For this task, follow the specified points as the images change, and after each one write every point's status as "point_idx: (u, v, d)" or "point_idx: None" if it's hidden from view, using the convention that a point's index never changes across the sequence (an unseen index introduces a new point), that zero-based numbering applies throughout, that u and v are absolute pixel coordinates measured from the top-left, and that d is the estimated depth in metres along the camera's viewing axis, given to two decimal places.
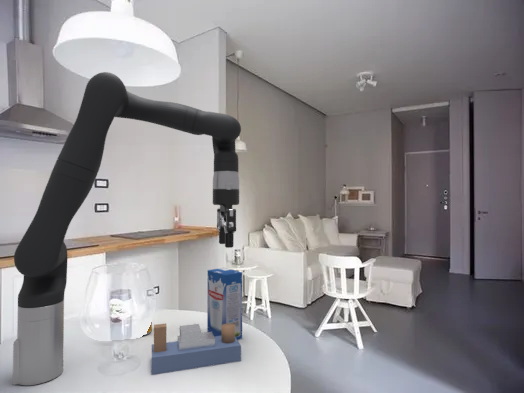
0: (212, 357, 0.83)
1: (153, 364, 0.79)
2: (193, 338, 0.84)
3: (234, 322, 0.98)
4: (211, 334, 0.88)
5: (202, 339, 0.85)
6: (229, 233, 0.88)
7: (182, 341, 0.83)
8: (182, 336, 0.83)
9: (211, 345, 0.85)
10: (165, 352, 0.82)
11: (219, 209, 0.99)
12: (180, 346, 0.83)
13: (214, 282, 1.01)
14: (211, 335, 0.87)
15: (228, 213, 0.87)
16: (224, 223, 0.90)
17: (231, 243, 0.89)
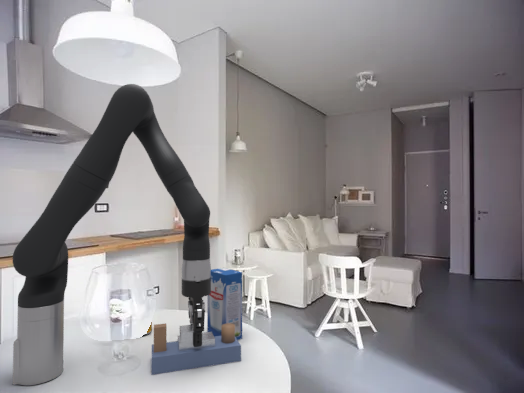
0: (212, 357, 0.83)
1: (153, 364, 0.79)
2: None
3: (234, 322, 0.98)
4: (211, 334, 0.88)
5: (202, 339, 0.85)
6: (197, 332, 0.82)
7: (182, 341, 0.83)
8: (182, 336, 0.83)
9: (211, 345, 0.85)
10: (165, 352, 0.82)
11: (190, 297, 0.92)
12: (180, 346, 0.83)
13: (214, 282, 1.01)
14: (211, 335, 0.87)
15: (196, 315, 0.80)
16: (192, 320, 0.83)
17: (199, 342, 0.83)
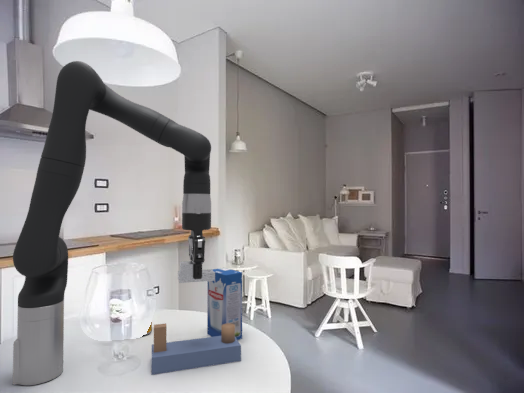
0: (212, 357, 0.83)
1: (153, 364, 0.79)
2: None
3: (234, 322, 0.98)
4: (211, 270, 0.88)
5: (202, 272, 0.85)
6: (197, 264, 0.83)
7: (182, 273, 0.83)
8: (182, 268, 0.83)
9: (211, 279, 0.85)
10: (165, 352, 0.82)
11: (191, 235, 0.92)
12: (180, 277, 0.83)
13: (214, 282, 1.01)
14: (211, 271, 0.88)
15: (196, 245, 0.80)
16: (192, 252, 0.83)
17: (199, 274, 0.83)
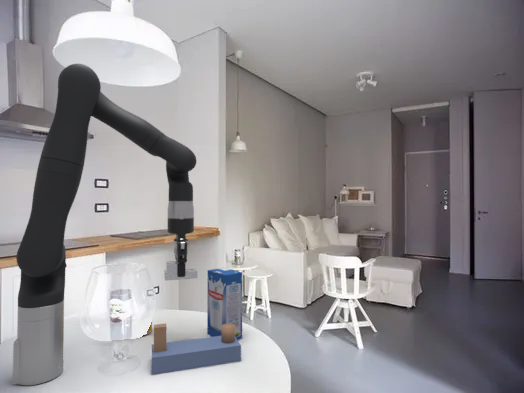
0: (212, 357, 0.83)
1: (153, 364, 0.79)
2: None
3: (234, 322, 0.98)
4: (194, 269, 0.99)
5: (186, 271, 0.96)
6: (180, 263, 0.93)
7: (168, 272, 0.94)
8: (167, 267, 0.94)
9: (194, 277, 0.96)
10: (165, 352, 0.82)
11: (176, 238, 1.02)
12: (166, 276, 0.93)
13: (214, 282, 1.01)
14: (194, 269, 0.98)
15: (179, 247, 0.91)
16: (177, 253, 0.94)
17: (183, 273, 0.94)
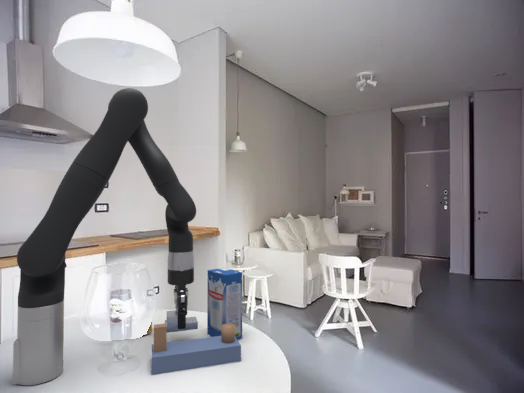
0: (212, 357, 0.83)
1: (153, 364, 0.79)
2: None
3: (234, 322, 0.98)
4: (195, 318, 0.98)
5: (186, 322, 0.95)
6: (181, 316, 0.93)
7: (168, 324, 0.93)
8: (168, 319, 0.93)
9: (194, 328, 0.95)
10: (165, 352, 0.82)
11: (176, 285, 1.02)
12: (166, 328, 0.93)
13: (214, 282, 1.01)
14: (195, 319, 0.98)
15: (179, 300, 0.90)
16: (177, 305, 0.93)
17: (183, 325, 0.93)
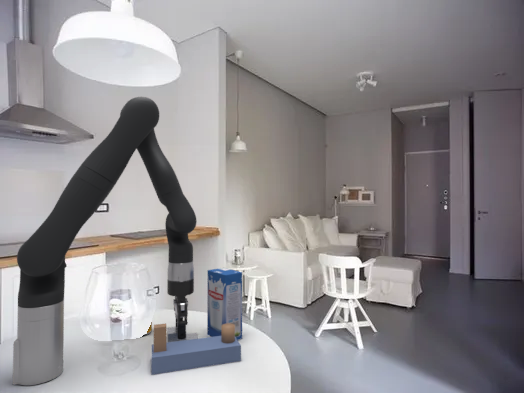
0: (212, 357, 0.83)
1: (153, 364, 0.79)
2: None
3: (234, 322, 0.98)
4: (195, 335, 0.98)
5: (187, 339, 0.95)
6: (181, 326, 0.91)
7: (169, 341, 0.93)
8: (168, 337, 0.93)
9: None
10: (165, 352, 0.82)
11: None
12: None
13: (214, 282, 1.01)
14: (195, 336, 0.98)
15: (179, 308, 0.90)
16: (177, 315, 0.93)
17: (183, 335, 0.92)
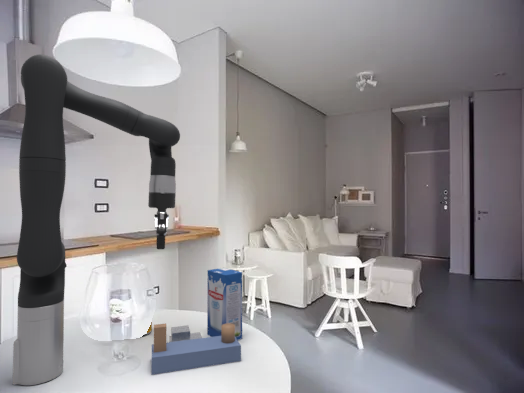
0: (212, 357, 0.83)
1: (153, 364, 0.79)
2: (183, 337, 0.94)
3: (234, 322, 0.98)
4: (199, 334, 0.99)
5: (191, 338, 0.96)
6: (160, 235, 0.91)
7: (173, 341, 0.93)
8: (172, 336, 0.93)
9: None
10: (165, 352, 0.82)
11: (158, 212, 1.02)
12: None
13: (214, 282, 1.01)
14: (199, 335, 0.98)
15: (158, 216, 0.90)
16: (156, 225, 0.93)
17: (162, 245, 0.92)
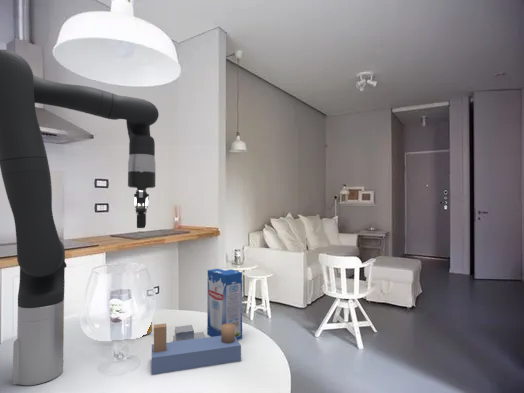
0: (212, 357, 0.83)
1: (153, 364, 0.79)
2: (187, 337, 0.95)
3: (234, 322, 0.98)
4: (203, 334, 0.99)
5: (195, 338, 0.96)
6: (140, 214, 0.91)
7: (177, 340, 0.94)
8: (176, 336, 0.94)
9: None
10: (165, 352, 0.82)
11: None
12: None
13: (214, 282, 1.01)
14: (203, 335, 0.98)
15: (137, 194, 0.89)
16: (136, 204, 0.92)
17: (142, 224, 0.91)
